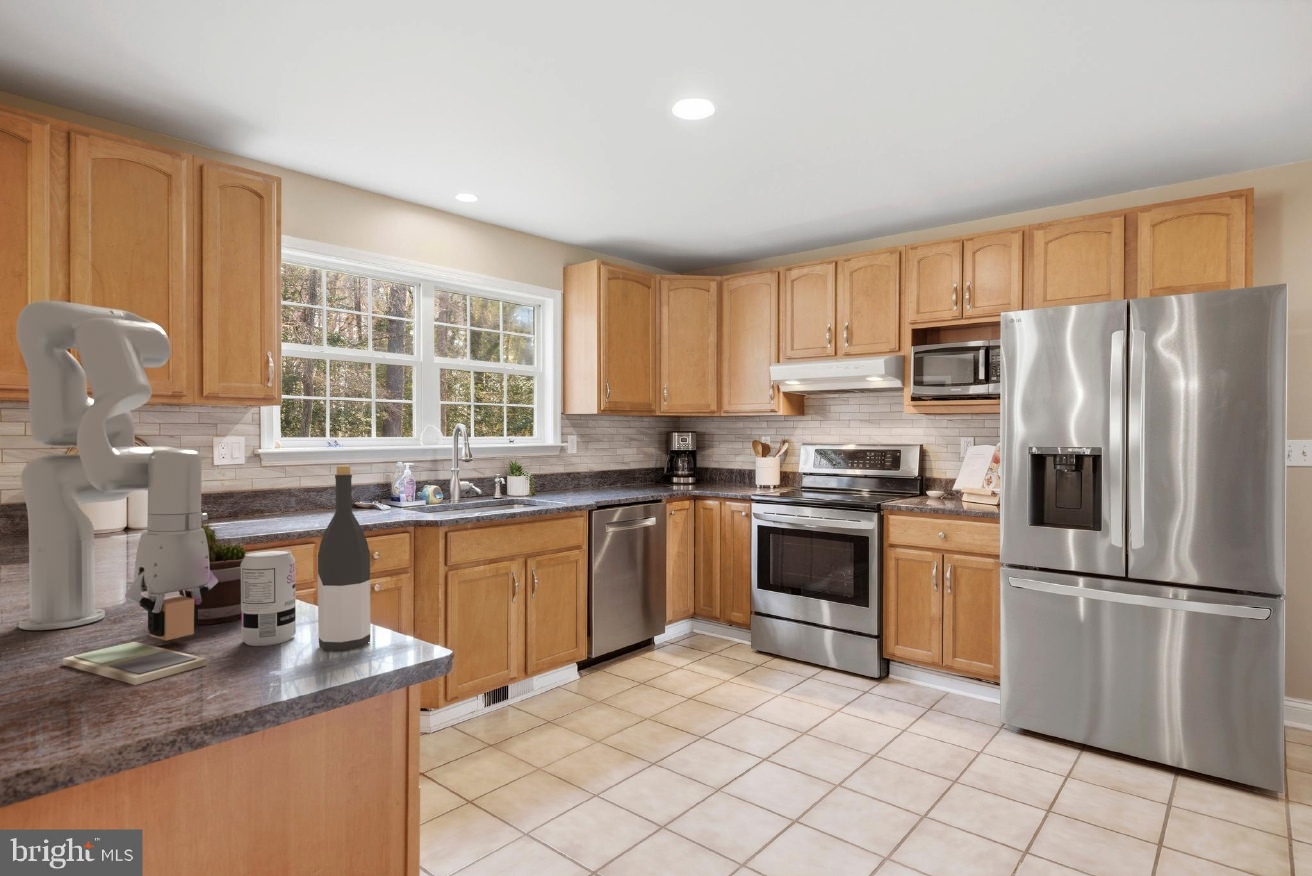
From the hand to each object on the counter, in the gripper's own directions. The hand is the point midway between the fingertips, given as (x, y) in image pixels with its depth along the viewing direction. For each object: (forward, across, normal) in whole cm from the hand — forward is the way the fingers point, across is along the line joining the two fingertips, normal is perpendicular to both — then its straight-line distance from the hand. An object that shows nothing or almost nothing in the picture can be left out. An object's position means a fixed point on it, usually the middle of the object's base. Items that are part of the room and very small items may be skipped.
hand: (173, 630), depth 123 cm
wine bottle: (+2, -13, +26) cm, 29 cm away
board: (+2, +9, +6) cm, 11 cm away
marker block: (+1, 0, 0) cm, 1 cm away
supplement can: (+2, -9, +12) cm, 15 cm away
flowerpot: (+3, -14, -11) cm, 18 cm away
